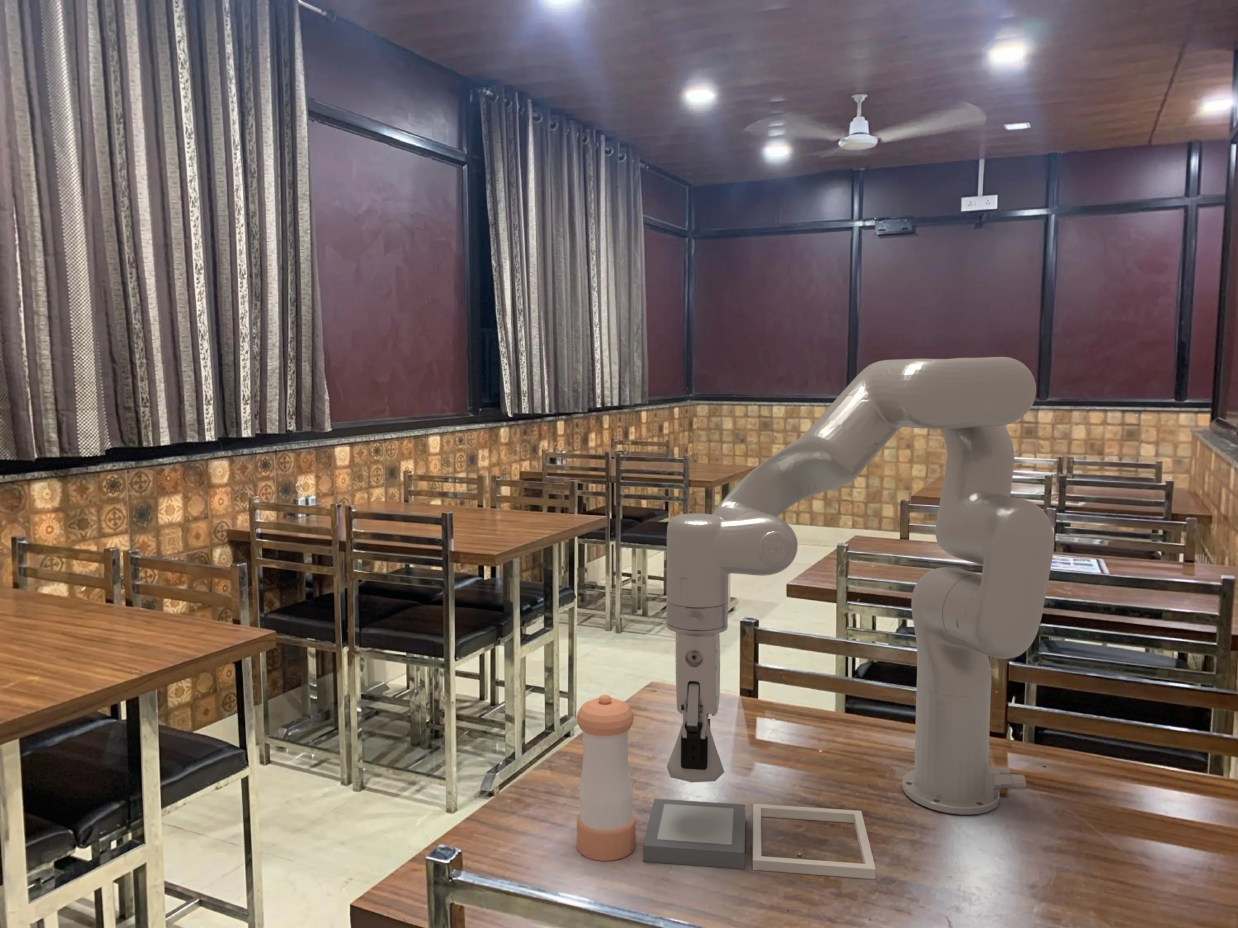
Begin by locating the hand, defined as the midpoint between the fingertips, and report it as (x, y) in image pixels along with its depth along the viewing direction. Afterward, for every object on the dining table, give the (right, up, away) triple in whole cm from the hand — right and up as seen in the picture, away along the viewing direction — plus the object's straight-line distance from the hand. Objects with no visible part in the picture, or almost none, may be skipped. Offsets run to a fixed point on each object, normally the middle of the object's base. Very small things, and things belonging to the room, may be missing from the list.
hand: (695, 756), depth 110 cm
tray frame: (+14, -11, 0) cm, 18 cm away
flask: (0, -2, 0) cm, 2 cm away
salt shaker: (-11, -11, 0) cm, 16 cm away
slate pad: (0, -11, +1) cm, 11 cm away
